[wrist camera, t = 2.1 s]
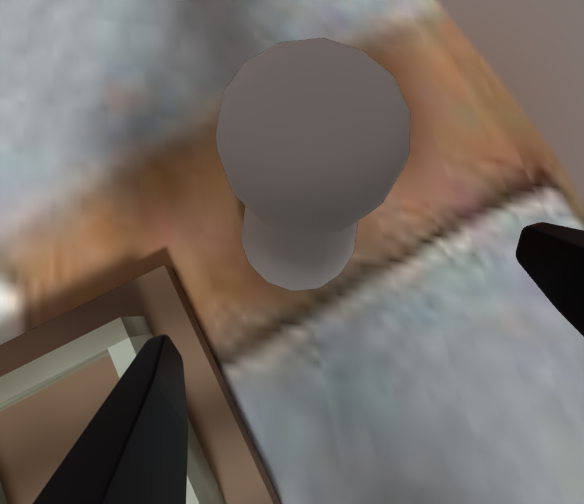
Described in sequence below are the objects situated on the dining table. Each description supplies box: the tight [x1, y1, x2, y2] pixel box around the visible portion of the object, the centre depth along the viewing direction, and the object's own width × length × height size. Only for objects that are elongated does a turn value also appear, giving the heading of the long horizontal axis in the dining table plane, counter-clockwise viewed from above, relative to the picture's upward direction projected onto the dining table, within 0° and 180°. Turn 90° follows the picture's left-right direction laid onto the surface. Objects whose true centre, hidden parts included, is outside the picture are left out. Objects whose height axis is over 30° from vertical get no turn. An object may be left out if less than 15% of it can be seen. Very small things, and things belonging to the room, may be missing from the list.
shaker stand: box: [0, 265, 281, 504], centre depth 15 cm, size 14×14×4 cm
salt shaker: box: [216, 38, 411, 291], centre depth 13 cm, size 6×6×13 cm
